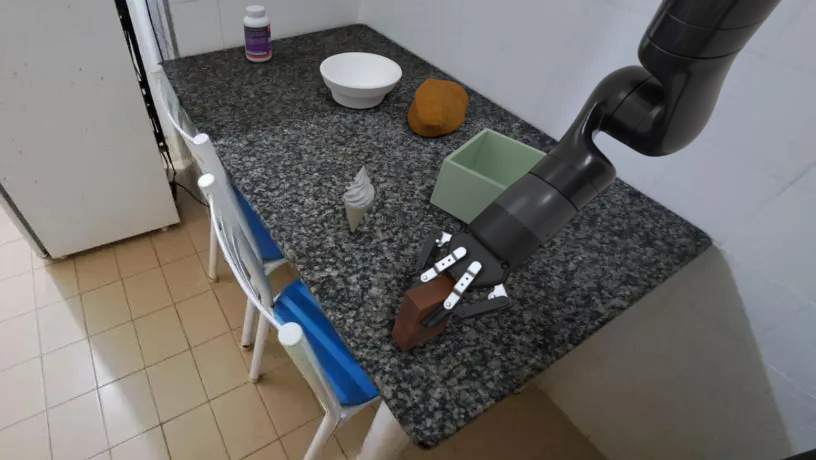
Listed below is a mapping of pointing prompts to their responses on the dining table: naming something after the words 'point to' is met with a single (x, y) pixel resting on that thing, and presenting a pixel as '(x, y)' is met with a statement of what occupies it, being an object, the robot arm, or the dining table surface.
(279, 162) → the dining table surface
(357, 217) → the ice cream cone
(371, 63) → the bowl
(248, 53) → the pill bottle
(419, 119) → the bread
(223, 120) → the dining table surface
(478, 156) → the trash bin
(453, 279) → the chocolate bar
